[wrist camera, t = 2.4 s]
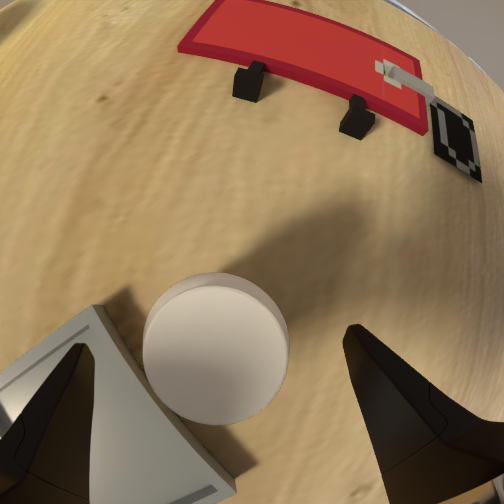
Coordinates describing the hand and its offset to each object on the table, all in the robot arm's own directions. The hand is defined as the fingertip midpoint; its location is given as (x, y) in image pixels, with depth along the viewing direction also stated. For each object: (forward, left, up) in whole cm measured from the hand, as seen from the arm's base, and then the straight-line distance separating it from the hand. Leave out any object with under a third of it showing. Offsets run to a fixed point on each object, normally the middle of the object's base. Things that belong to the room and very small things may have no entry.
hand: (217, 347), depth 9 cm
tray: (-2, +12, -8) cm, 15 cm away
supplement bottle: (0, 0, -8) cm, 8 cm away
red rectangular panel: (+11, -21, -9) cm, 26 cm away
